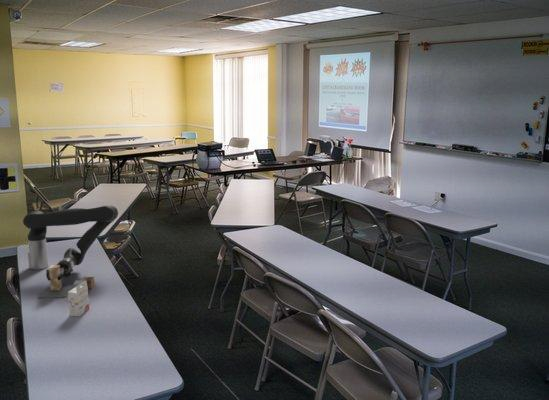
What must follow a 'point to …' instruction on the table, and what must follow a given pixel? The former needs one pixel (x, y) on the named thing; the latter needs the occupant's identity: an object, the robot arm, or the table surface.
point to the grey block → (77, 283)
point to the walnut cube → (89, 282)
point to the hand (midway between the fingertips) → (53, 278)
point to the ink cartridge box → (78, 299)
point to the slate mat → (56, 292)
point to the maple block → (55, 277)
